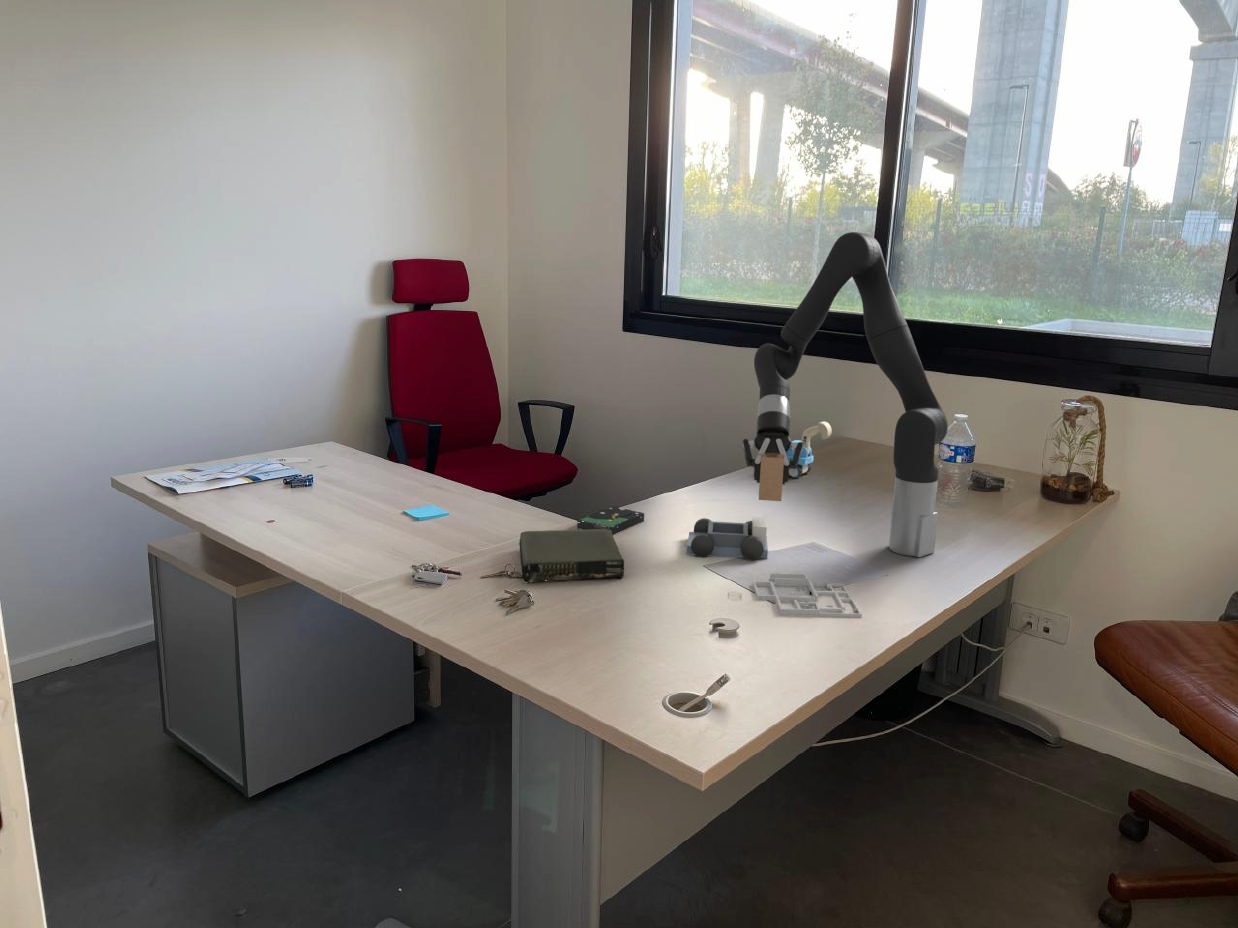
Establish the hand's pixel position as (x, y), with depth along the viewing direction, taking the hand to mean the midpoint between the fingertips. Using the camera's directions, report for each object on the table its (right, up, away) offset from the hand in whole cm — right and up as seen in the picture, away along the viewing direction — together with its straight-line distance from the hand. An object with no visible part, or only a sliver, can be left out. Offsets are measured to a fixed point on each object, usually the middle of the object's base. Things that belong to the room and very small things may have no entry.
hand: (771, 481), depth 207 cm
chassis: (-9, -16, +5) cm, 19 cm away
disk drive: (-36, -12, +21) cm, 44 cm away
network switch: (-45, -18, -6) cm, 49 cm away
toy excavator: (+20, 0, +70) cm, 73 cm away
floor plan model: (0, -23, -22) cm, 32 cm away
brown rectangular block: (0, -4, +3) cm, 5 cm away
